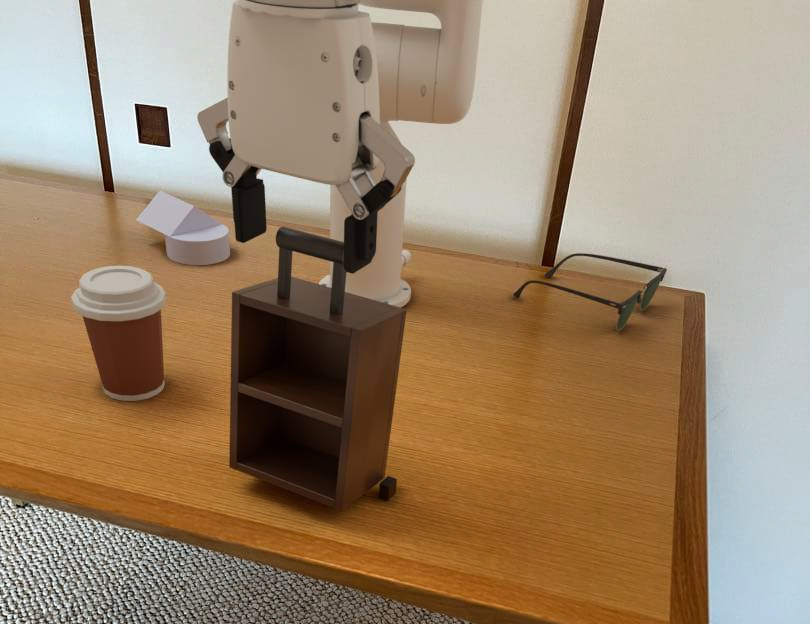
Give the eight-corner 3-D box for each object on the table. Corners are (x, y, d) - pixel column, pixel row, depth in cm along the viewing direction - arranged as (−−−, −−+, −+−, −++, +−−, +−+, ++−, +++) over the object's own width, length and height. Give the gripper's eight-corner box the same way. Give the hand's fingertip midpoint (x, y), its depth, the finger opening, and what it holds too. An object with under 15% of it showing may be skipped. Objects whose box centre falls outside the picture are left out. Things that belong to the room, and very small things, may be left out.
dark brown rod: (267, 445, 81) (267, 431, 80) (396, 492, 76) (397, 478, 75) (258, 452, 80) (257, 438, 79) (388, 501, 75) (388, 487, 74)
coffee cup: (77, 378, 89) (53, 271, 81) (156, 359, 93) (141, 255, 86) (109, 416, 83) (87, 304, 76) (191, 393, 88) (179, 285, 80)
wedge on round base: (139, 243, 120) (190, 270, 114) (132, 195, 116) (185, 221, 109) (190, 230, 125) (242, 255, 119) (185, 185, 121) (239, 208, 115)
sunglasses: (553, 270, 122) (560, 237, 119) (661, 302, 116) (670, 267, 112) (501, 304, 111) (507, 268, 108) (616, 341, 105) (625, 304, 102)
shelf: (290, 210, 68) (232, 221, 62) (416, 242, 65) (367, 257, 58) (278, 439, 80) (228, 467, 74) (385, 478, 76) (342, 511, 70)
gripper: (448, -6, 51) (426, 263, 62) (224, -38, 56) (241, 214, 67) (390, 6, 45) (378, 297, 57) (150, -31, 51) (181, 240, 62)
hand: (303, 251), depth 62 cm, fingers open, 9 cm apart
